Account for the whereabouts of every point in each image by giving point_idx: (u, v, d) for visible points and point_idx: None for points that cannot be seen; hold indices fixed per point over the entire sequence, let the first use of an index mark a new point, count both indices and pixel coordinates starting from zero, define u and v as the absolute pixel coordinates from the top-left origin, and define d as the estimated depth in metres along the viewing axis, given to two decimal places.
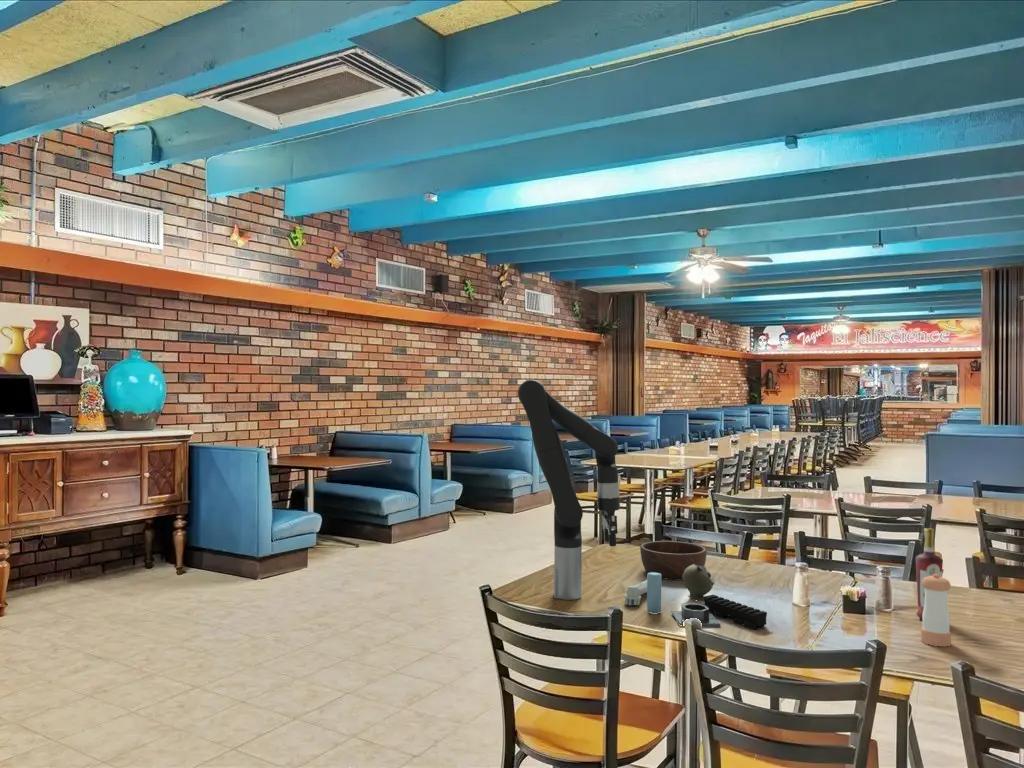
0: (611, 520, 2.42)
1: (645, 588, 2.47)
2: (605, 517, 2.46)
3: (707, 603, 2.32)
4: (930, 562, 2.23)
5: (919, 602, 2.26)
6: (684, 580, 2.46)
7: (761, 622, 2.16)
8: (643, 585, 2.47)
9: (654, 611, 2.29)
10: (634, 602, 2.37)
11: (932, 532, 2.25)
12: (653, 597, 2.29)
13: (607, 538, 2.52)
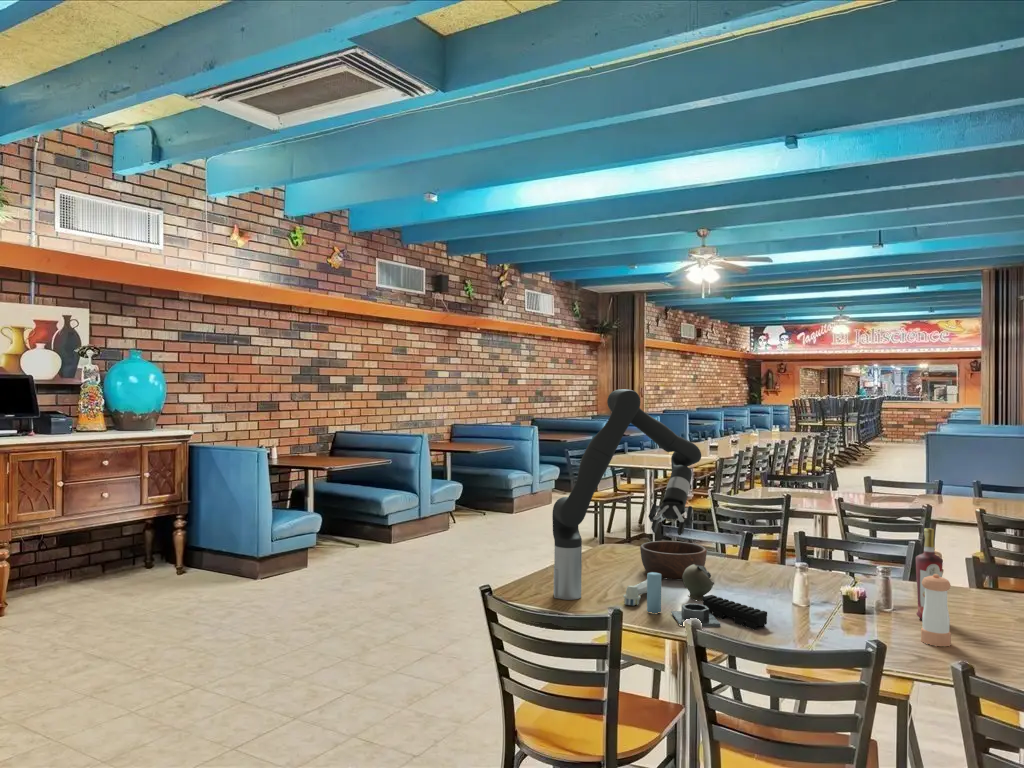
0: (691, 511, 2.43)
1: (645, 588, 2.47)
2: (676, 507, 2.45)
3: (706, 603, 2.32)
4: (930, 562, 2.23)
5: (919, 602, 2.26)
6: (684, 580, 2.46)
7: (762, 621, 2.16)
8: (643, 585, 2.47)
9: (654, 611, 2.29)
10: (634, 602, 2.37)
11: (932, 532, 2.25)
12: (653, 597, 2.29)
13: (655, 528, 2.44)
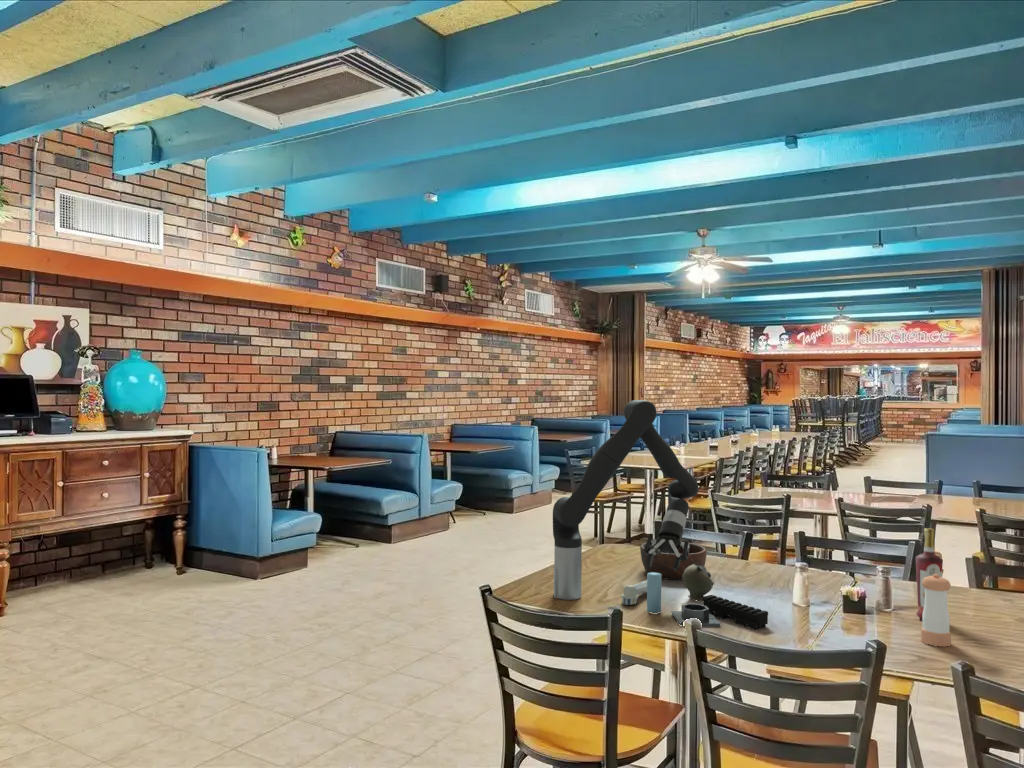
0: (688, 545, 2.40)
1: (644, 588, 2.47)
2: (672, 541, 2.42)
3: (706, 603, 2.32)
4: (930, 562, 2.23)
5: (919, 602, 2.26)
6: (684, 580, 2.46)
7: (763, 621, 2.16)
8: (642, 585, 2.47)
9: (654, 611, 2.29)
10: (631, 602, 2.38)
11: (932, 532, 2.25)
12: (653, 597, 2.29)
13: (651, 562, 2.41)
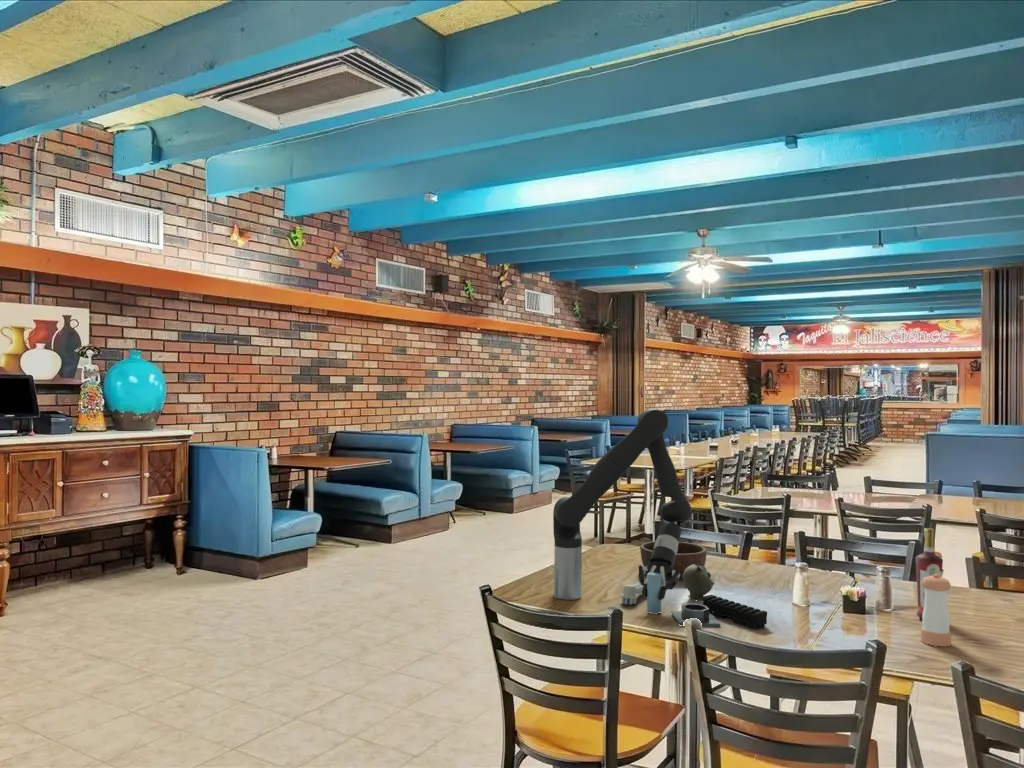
0: (677, 575, 2.31)
1: None
2: (664, 568, 2.34)
3: (706, 603, 2.32)
4: (930, 562, 2.23)
5: (919, 602, 2.26)
6: (684, 580, 2.46)
7: (762, 621, 2.16)
8: (642, 585, 2.48)
9: (654, 611, 2.29)
10: (630, 601, 2.38)
11: (932, 532, 2.25)
12: (653, 597, 2.29)
13: (646, 593, 2.31)
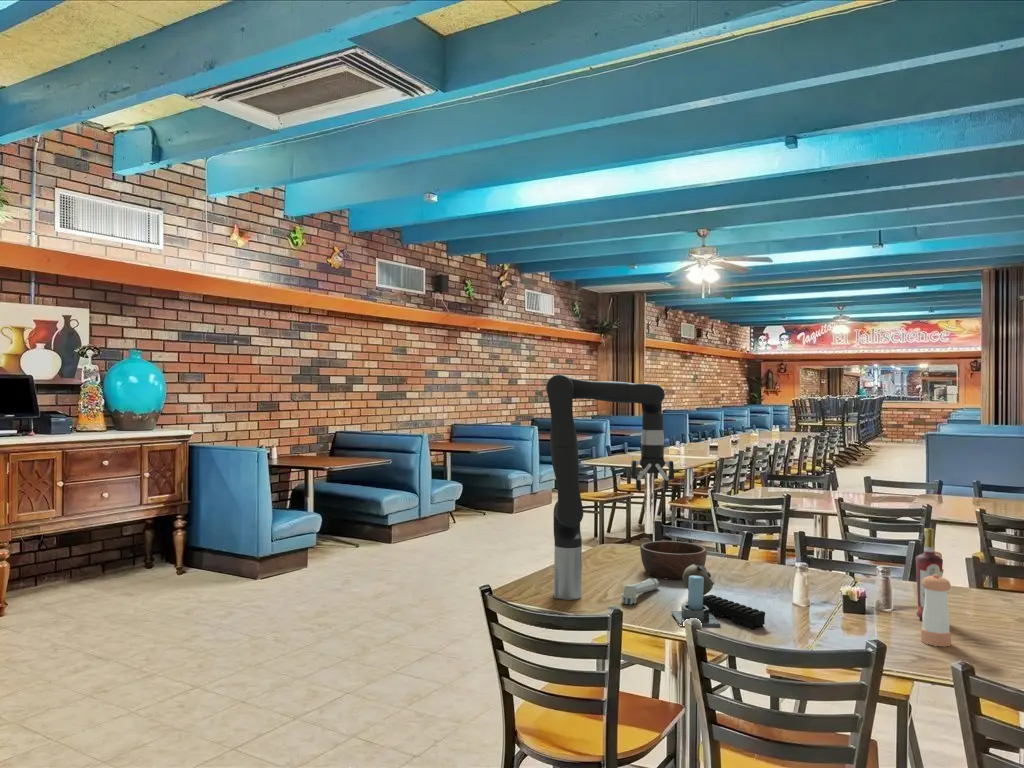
0: None
1: (644, 587, 2.48)
2: (658, 464, 2.45)
3: (705, 603, 2.32)
4: (930, 562, 2.23)
5: (919, 602, 2.26)
6: (684, 580, 2.46)
7: (760, 622, 2.16)
8: (642, 584, 2.48)
9: None
10: (631, 601, 2.39)
11: (932, 532, 2.25)
12: (695, 601, 2.21)
13: None
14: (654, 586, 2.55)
